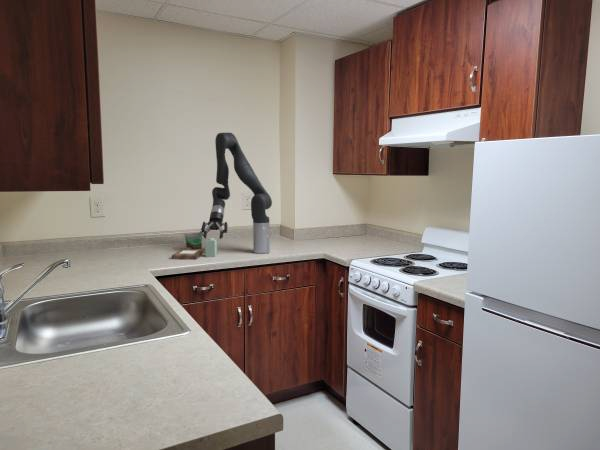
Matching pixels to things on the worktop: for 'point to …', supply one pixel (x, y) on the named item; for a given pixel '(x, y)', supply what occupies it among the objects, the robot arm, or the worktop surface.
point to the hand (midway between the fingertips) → (212, 237)
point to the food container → (194, 240)
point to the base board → (188, 254)
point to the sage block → (211, 247)
